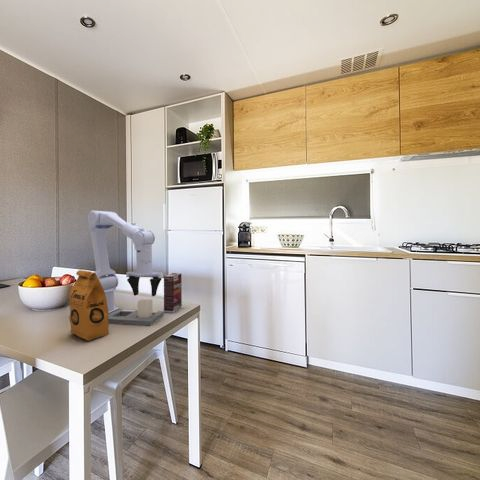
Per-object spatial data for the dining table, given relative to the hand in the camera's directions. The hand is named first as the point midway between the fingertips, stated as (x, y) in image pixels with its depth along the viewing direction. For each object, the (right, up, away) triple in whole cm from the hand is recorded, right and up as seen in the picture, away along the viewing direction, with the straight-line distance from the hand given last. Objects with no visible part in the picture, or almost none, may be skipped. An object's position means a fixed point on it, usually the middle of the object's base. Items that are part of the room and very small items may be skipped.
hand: (145, 295), depth 96 cm
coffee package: (-14, -11, -13) cm, 22 cm away
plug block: (0, -10, 0) cm, 10 cm away
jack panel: (-5, -10, +1) cm, 11 cm away
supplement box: (+8, -10, +12) cm, 18 cm away
